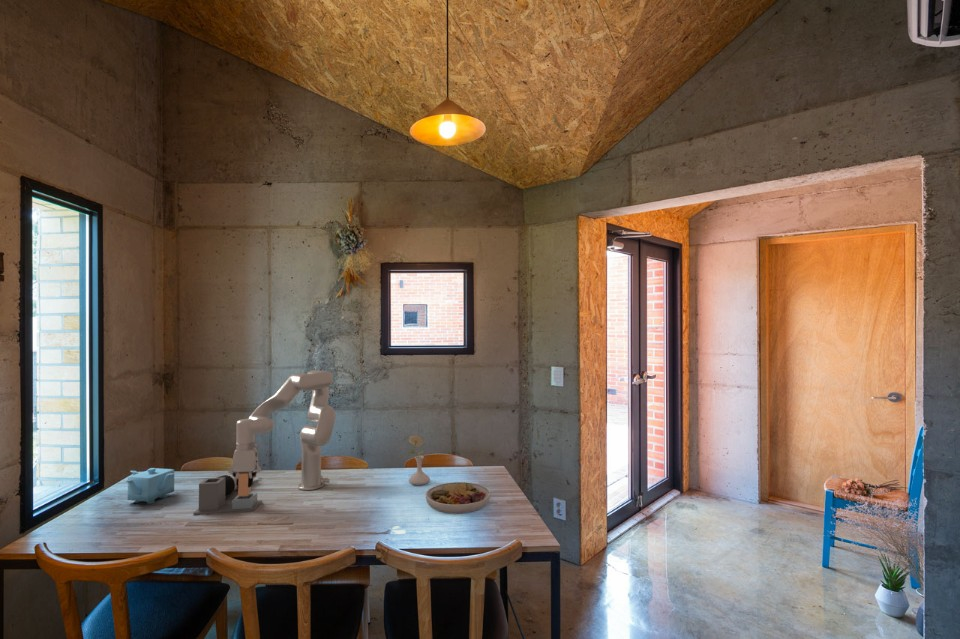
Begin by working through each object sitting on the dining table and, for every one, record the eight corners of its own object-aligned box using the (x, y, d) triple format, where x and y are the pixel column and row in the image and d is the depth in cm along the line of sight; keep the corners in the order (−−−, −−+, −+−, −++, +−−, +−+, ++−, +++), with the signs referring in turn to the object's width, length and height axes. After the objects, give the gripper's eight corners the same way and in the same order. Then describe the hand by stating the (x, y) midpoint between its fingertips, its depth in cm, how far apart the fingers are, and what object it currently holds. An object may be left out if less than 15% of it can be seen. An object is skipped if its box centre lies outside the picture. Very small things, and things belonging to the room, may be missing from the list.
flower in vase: (434, 482, 243) (434, 434, 243) (420, 488, 233) (420, 439, 234) (415, 478, 250) (415, 432, 250) (401, 484, 240) (401, 436, 241)
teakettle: (174, 490, 233) (174, 461, 233) (174, 501, 217) (174, 470, 218) (127, 498, 222) (127, 467, 223) (123, 510, 207) (124, 477, 207)
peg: (250, 492, 211) (251, 471, 212) (247, 495, 207) (248, 473, 208) (241, 493, 211) (241, 471, 211) (238, 496, 207) (238, 474, 207)
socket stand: (261, 502, 216) (261, 474, 216) (253, 511, 205) (253, 482, 205) (204, 505, 212) (204, 477, 212) (193, 515, 201) (193, 485, 201)
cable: (257, 488, 247) (266, 471, 248) (214, 505, 214) (224, 486, 214) (242, 479, 249) (251, 462, 249) (197, 494, 215) (207, 475, 216)
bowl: (412, 504, 213) (412, 487, 213) (458, 487, 235) (458, 472, 235) (457, 522, 192) (457, 503, 192) (503, 502, 214) (503, 485, 214)
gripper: (267, 443, 215) (266, 483, 214) (229, 445, 212) (228, 484, 212) (262, 447, 207) (261, 488, 207) (222, 449, 205) (221, 490, 204)
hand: (244, 486), depth 209 cm, fingers closed on peg, 4 cm apart
